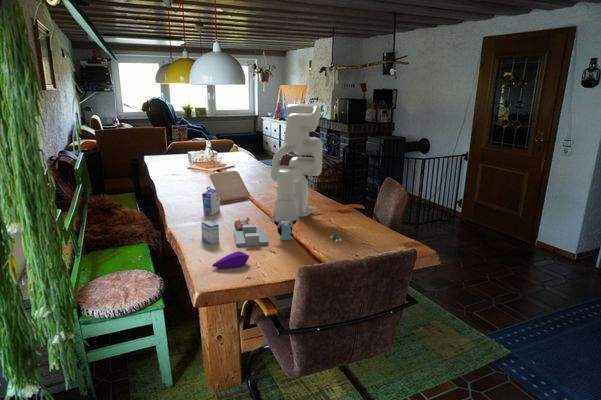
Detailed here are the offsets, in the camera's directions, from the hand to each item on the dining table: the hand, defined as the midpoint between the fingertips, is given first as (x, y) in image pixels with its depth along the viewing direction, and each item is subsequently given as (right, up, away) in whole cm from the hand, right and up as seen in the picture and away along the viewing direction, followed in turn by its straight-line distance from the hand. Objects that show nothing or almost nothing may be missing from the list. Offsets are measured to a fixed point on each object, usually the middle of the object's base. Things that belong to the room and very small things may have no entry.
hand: (284, 233), depth 187 cm
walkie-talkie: (-21, +2, +13) cm, 25 cm away
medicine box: (-33, -3, -6) cm, 34 cm away
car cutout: (+25, -5, -3) cm, 26 cm away
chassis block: (-16, -2, -3) cm, 16 cm away
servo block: (0, -2, +1) cm, 2 cm away
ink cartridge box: (-41, +9, +33) cm, 53 cm away
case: (-38, +17, +61) cm, 74 cm away
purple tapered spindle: (-20, -10, -29) cm, 37 cm away
